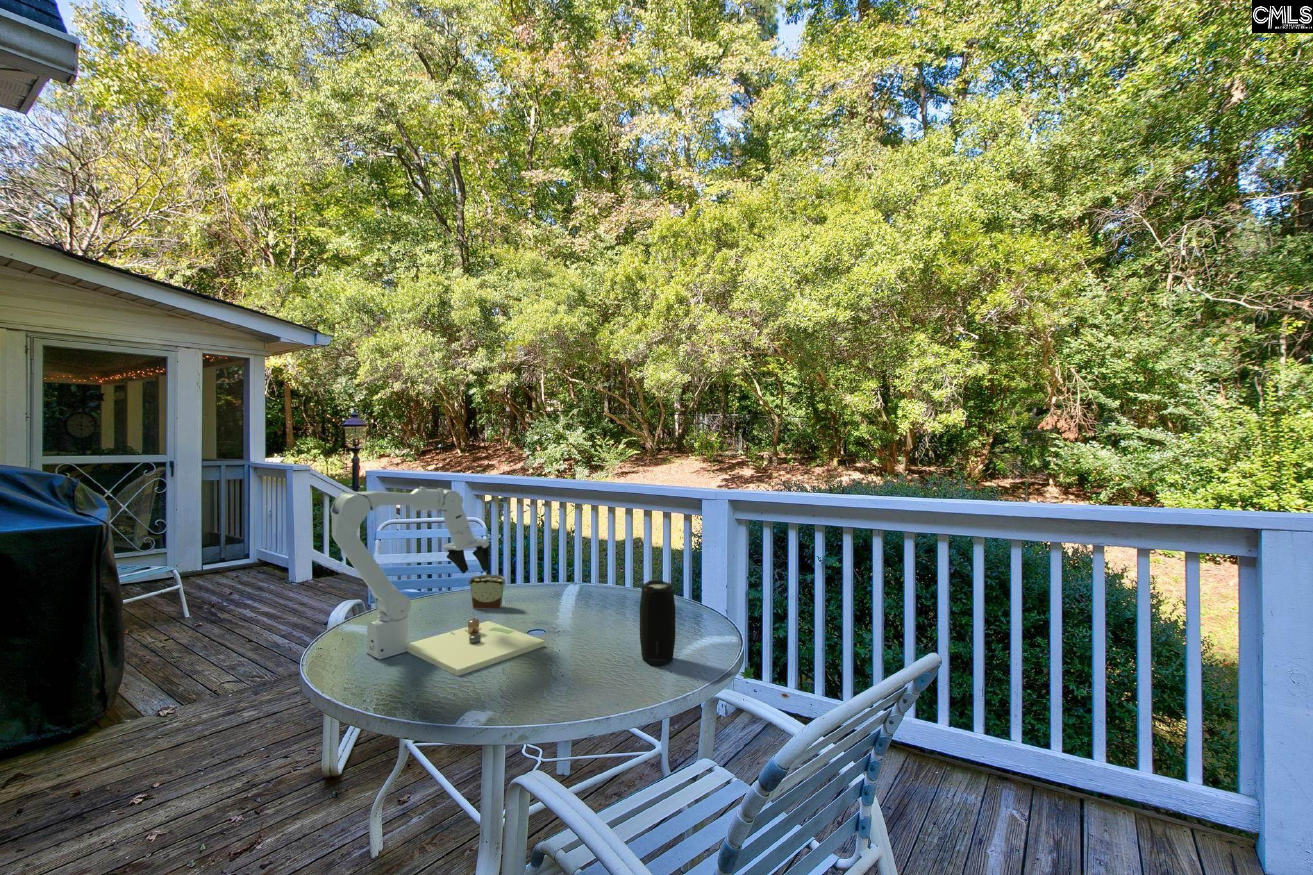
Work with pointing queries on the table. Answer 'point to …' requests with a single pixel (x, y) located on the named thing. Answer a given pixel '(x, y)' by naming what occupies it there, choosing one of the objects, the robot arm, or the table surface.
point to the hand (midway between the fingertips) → (475, 570)
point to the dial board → (473, 648)
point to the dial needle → (474, 631)
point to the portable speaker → (657, 622)
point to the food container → (487, 591)
